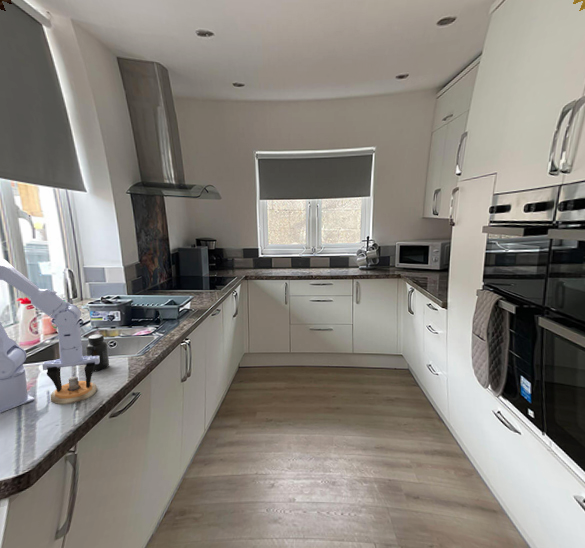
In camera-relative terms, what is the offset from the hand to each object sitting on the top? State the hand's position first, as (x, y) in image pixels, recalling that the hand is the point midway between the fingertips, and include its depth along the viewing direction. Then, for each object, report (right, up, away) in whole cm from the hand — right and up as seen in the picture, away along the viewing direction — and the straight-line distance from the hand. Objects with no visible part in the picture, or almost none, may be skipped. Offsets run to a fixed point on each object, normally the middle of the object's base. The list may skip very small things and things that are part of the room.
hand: (74, 388), depth 106 cm
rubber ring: (0, -1, 0) cm, 1 cm away
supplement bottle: (-3, +1, +19) cm, 19 cm away
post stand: (0, -2, 0) cm, 2 cm away
